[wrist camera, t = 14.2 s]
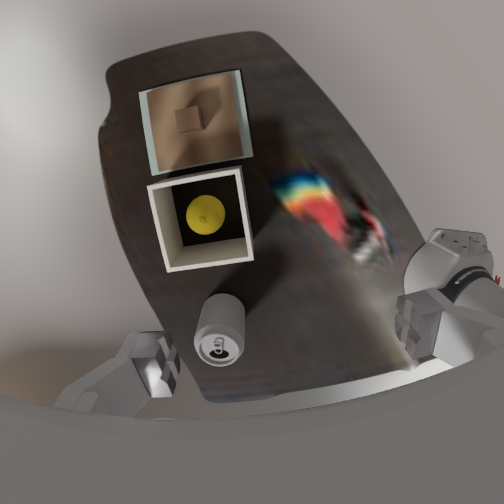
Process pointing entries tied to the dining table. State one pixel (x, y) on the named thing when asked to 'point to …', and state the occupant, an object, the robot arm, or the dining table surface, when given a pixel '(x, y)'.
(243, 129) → the mat
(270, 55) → the dining table surface
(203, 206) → the lemon
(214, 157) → the lid
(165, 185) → the white open square box
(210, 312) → the can
